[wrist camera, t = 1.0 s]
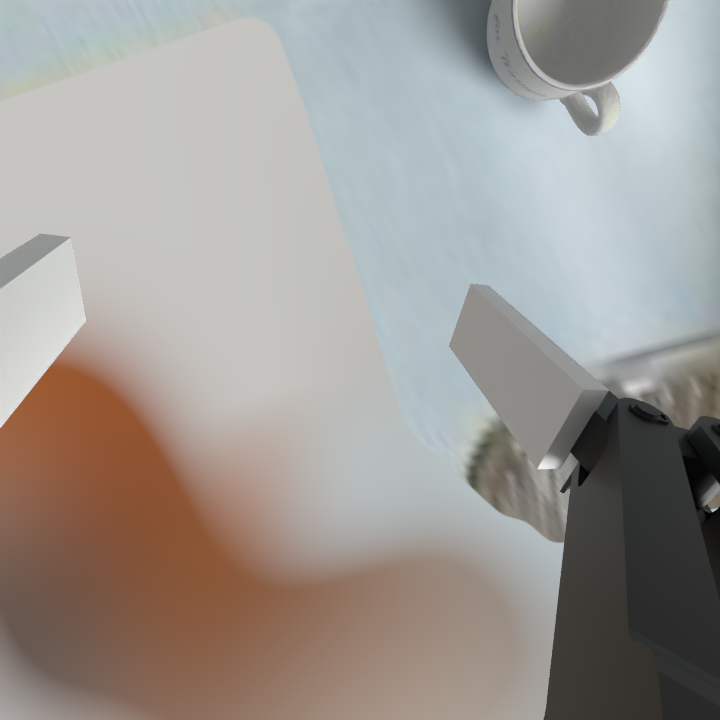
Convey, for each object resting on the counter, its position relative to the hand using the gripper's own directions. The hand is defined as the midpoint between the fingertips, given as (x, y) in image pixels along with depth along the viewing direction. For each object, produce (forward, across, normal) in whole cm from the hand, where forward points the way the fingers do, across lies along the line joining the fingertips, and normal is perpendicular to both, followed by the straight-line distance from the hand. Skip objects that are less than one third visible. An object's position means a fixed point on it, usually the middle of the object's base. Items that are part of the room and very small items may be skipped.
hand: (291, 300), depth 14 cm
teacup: (+26, +21, +13) cm, 36 cm away
